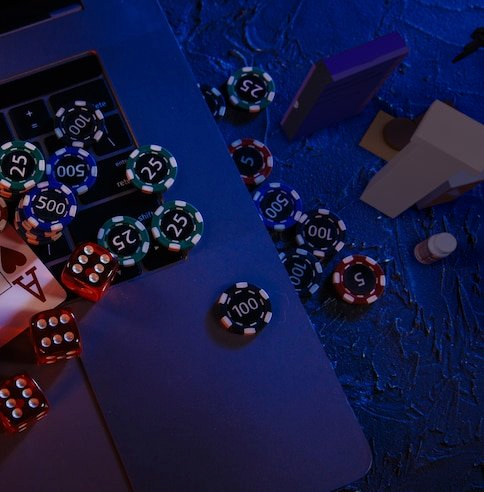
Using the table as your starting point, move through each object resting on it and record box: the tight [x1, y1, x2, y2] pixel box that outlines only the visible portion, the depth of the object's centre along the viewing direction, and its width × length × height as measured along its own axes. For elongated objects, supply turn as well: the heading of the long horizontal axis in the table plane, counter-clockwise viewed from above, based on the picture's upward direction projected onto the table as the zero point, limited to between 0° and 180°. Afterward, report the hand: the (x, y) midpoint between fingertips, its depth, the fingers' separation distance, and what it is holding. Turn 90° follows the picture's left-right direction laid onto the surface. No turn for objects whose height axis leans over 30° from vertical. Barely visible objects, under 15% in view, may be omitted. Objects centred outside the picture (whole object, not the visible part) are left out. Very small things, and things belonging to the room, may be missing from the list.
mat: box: [358, 109, 400, 163], centre depth 134 cm, size 12×10×1 cm
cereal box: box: [279, 29, 411, 142], centre depth 125 cm, size 17×5×24 cm, turn 113°
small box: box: [415, 170, 484, 210], centre depth 125 cm, size 8×6×13 cm
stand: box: [359, 99, 484, 219], centre depth 117 cm, size 12×8×30 cm, turn 56°
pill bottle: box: [414, 232, 458, 265], centre depth 124 cm, size 5×5×8 cm
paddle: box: [383, 98, 458, 151], centre depth 134 cm, size 8×18×2 cm, turn 121°
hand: (476, 83), depth 129 cm, fingers open, 13 cm apart
